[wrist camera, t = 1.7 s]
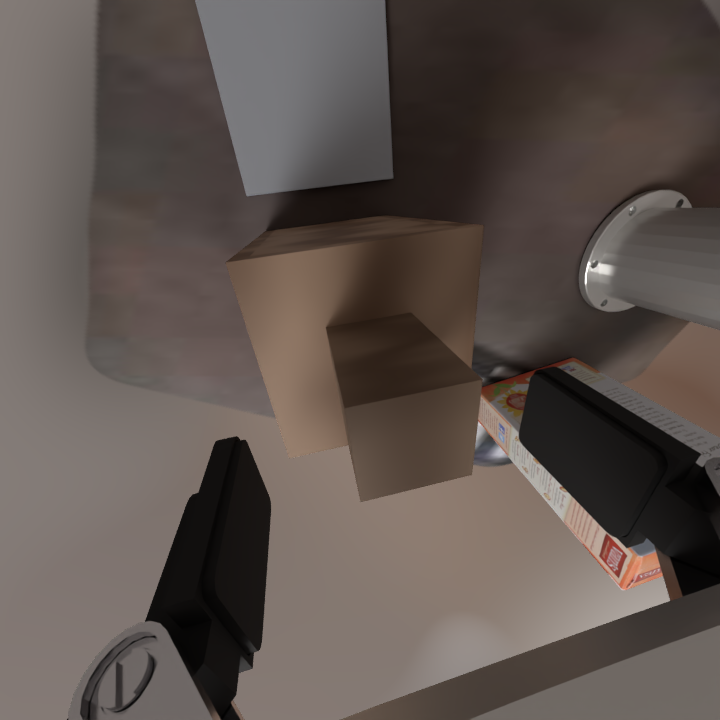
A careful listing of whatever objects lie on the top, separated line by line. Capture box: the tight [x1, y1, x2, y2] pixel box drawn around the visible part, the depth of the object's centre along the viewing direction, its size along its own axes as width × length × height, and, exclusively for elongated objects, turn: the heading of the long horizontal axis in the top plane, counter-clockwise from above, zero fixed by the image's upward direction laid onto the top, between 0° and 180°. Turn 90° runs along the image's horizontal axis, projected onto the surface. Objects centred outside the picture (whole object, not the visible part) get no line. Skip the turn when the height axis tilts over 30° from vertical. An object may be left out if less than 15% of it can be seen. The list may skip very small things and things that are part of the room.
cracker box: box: [478, 358, 720, 590], centre depth 30 cm, size 14×6×21 cm, turn 103°
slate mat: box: [195, 0, 393, 196], centre depth 21 cm, size 12×12×1 cm
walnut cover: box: [226, 215, 484, 502], centre depth 18 cm, size 11×11×22 cm
